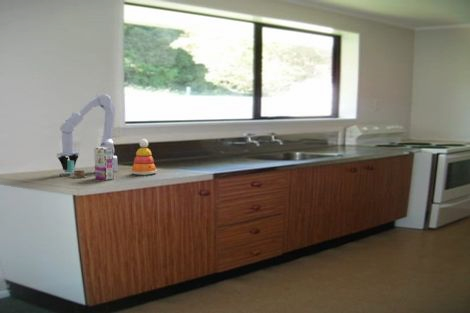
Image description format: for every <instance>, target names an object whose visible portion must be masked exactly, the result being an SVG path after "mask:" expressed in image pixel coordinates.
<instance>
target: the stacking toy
mask: <svg viewBox="0 0 470 313" xmlns="http://www.w3.org/2000/svg"><path fill="white" fill-rule="evenodd" d="M139 146H140V148H138V149H137V151H136V152H135V155H136V156H135V157H134V160H133V164H132V168H131V171H130V172H131V173H132V175H142V176H147V175H153V174H156V173H157V172H158V169H157V168H156V165H155V164H154V163H155V161H154V160H155V159H154V158H153V156H152V155H153V154H152V151H151V150H150V149H149V148H148V147H149V141H148V140H147V139H146V138H141V140H140V141H139Z"/></svg>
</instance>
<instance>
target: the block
mask: <svg viewBox="0 0 470 313" xmlns="http://www.w3.org/2000/svg"><path fill="white" fill-rule="evenodd" d="M75 169H76V166H75V167H74V160H70V159H68V161H67V170H64V173H74V171H76V170H75Z"/></svg>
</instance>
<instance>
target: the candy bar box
mask: <svg viewBox="0 0 470 313" xmlns="http://www.w3.org/2000/svg"><path fill="white" fill-rule="evenodd" d="M93 149H94V150H93V151H94V176H95V179H98V180H102V181H114V180H115V179H114V178H115V177H114V176H115V174H114V171H113V156H114V154H113V148H106V147H100V146H96V147H94V148H93Z"/></svg>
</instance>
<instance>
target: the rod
mask: <svg viewBox="0 0 470 313" xmlns="http://www.w3.org/2000/svg"><path fill="white" fill-rule="evenodd" d="M69 173H70V176H69V177H70V179H71V178H72V179H73V178H74V177H75V173H74V172H69ZM74 179H75V178H74Z"/></svg>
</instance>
